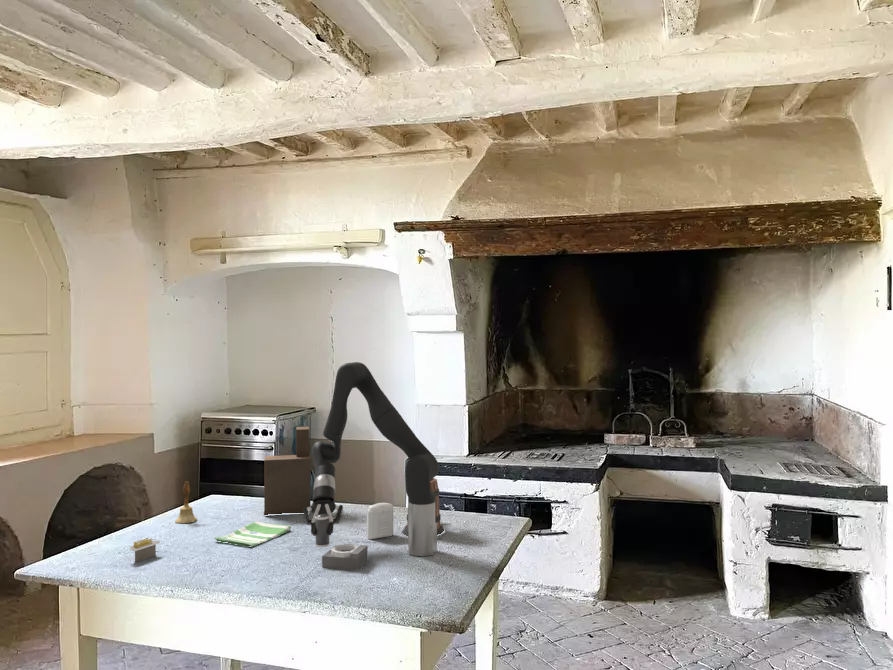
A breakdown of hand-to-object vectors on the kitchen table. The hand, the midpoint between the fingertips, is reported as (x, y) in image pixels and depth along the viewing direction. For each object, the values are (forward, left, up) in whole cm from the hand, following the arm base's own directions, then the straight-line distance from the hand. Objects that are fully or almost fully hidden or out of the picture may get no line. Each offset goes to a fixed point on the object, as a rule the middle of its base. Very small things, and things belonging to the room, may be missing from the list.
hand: (321, 534), depth 218 cm
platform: (+58, +14, -8) cm, 60 cm away
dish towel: (+35, -17, -9) cm, 40 cm away
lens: (+1, -2, -4) cm, 5 cm away
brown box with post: (+39, -53, -8) cm, 66 cm away
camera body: (-10, +4, -8) cm, 13 cm away
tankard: (-25, -40, -8) cm, 48 cm away
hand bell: (+73, -30, -8) cm, 79 cm away
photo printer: (-11, -27, -8) cm, 30 cm away
